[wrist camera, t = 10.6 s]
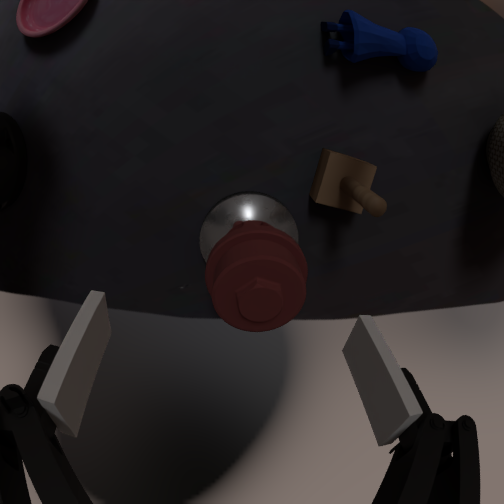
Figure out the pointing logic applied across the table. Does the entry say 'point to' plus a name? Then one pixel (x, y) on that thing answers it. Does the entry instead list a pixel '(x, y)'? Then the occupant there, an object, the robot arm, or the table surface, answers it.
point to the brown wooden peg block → (346, 184)
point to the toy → (380, 42)
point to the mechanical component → (256, 277)
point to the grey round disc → (244, 217)
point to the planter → (496, 154)
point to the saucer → (46, 15)
